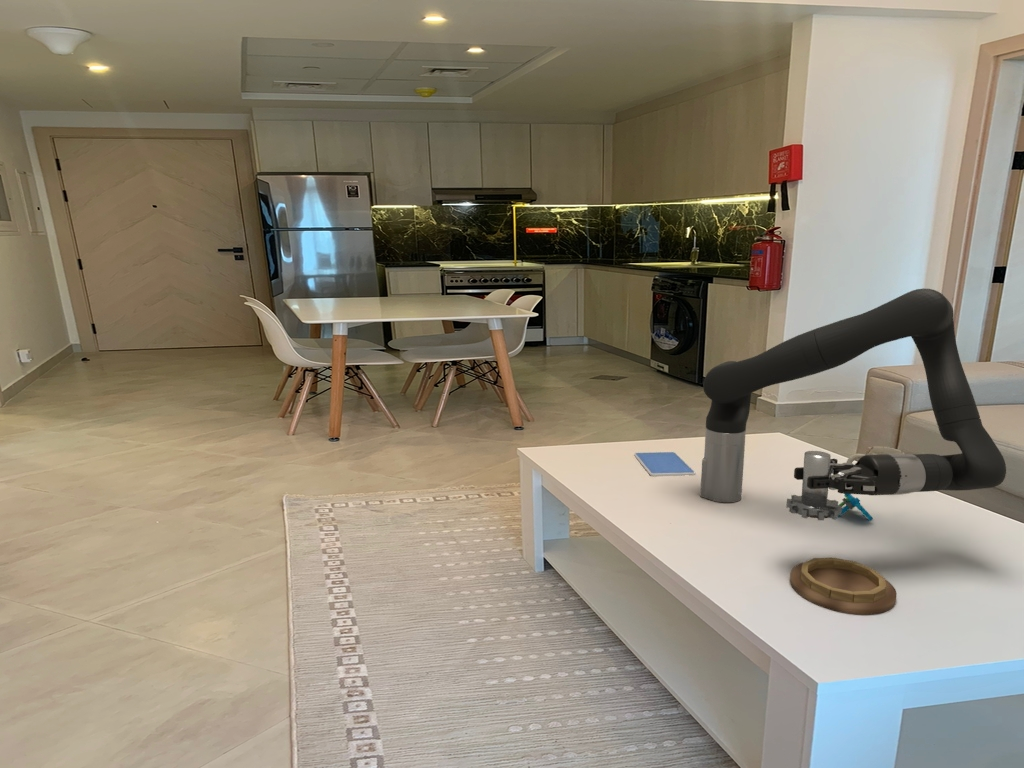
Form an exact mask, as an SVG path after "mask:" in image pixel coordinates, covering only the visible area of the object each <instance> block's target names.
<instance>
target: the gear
mask: <svg viewBox="0 0 1024 768" xmlns="http://www.w3.org/2000/svg"><path fill="white" fill-rule="evenodd" d="M843 496H844V497H843V498H842V499H841V500H842V502H840V503H838V505H840V506H842V512H841V515H838V517H837V518H840V517H841V516H842V515H843V514H845V513H846V512H848V511H849V510H853V509H855V508H857V510H858V511H860V512H861V514H863V516H865V518H867V519H868V521H870V522H872V520H874V517H873V516H872V515H870V513H869V512H868V511H867V510H866V509H865V508H864V507H863V505H861V500H860V499H859V497H855V496H853V494H844V495H843ZM839 516H840V517H839Z"/></svg>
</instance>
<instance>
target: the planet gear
mask: <svg viewBox="0 0 1024 768" xmlns="http://www.w3.org/2000/svg"><path fill="white" fill-rule="evenodd" d="M831 457H832V455H831V454H830V453H828V452H824V451H821V450H808V451H804V457H803V467H804V469H803V480H802V486H801V495H796V494H793V495H792V494H791V498H786V506H785V507H786V508H787V509H788V512H789V513H790V514H798V515H800V516H801V517H800V518H802V519H803V518H804V519H808V518H811V519H817V520H818V521H825V519H831V520H837V519H838V518H839V517H838V515H841V512H842V508H843V506H840V505H839V501H838V500H836V499H832V500H831V499H829V498H828V493H829V488H823V489H810V488H808V487H807V479H808V477H809V476H829V472H830V459H832V458H831ZM841 516H842V515H841Z"/></svg>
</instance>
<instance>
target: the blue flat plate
mask: <svg viewBox="0 0 1024 768" xmlns="http://www.w3.org/2000/svg"><path fill="white" fill-rule="evenodd" d="M633 456H634V458H636V459H637V461H638V462H639V463H640V464H641V465H642V467H643V468H644V470H645V471H646V472H647V473H648V474H649V476H651V477H681V476H683V477H684V476H685V475H689V476H696V472H695V470H693V469H692V467H690V466H689V465H688V464H687V463H686V462H685V461H684V460H683V458H681V457H680V456H679V455H678V454H677V453H676V452H674V451H673V452H672V451H671V452H670V451H669V452H668V451H667V452H663V451H662V452H661V451H660V452H657V451H656V452H635V453H634V454H633Z"/></svg>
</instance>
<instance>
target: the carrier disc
mask: <svg viewBox="0 0 1024 768" xmlns="http://www.w3.org/2000/svg"><path fill="white" fill-rule="evenodd" d="M789 582H790V583H789V584H790V586H791V587H792V589H793V590H794V591H795V592H796V593H797V594H798V595H799V596H801V597H802V598H803V599H805V600H807V601H808V602H811V603H812V604H815V605H817V606H819V607H822V608H825V609H828V610H831V611H834V612H840V613H844V614H852V615H862V616H866V615H868V616H869V615H879V614H882V613H883V614H884V613H886V612H888V611H890V610H892V609H893V608H894V607H895V605H896V604H897V603H896V602H897V591H896V588H895V586H894V585H893V584H892V583H891V582H890V581H889V580H887V579H886V578H885V577H884V576H883V575H882V574H880V573H879V572H877V570H876V569H874V568H872V567H869V566H866V565H864V564H862V563H859V562H857V561H854V560H849V559H844V558H837V557H814V558H812V559H809V560H806V561H804V562H802V563H798V564H797V565H795V566H794V567H793V568H792V569H791V571H790V577H789Z"/></svg>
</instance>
